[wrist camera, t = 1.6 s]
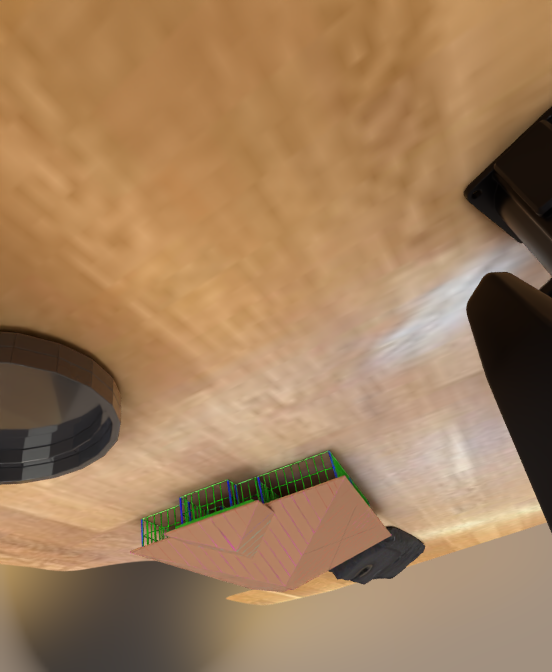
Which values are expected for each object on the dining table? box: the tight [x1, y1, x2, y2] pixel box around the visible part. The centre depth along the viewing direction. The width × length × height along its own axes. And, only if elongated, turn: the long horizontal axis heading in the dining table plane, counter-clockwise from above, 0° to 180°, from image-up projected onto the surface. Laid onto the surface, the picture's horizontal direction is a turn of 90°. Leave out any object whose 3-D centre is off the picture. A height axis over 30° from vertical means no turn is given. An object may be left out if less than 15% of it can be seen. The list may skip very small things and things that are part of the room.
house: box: [130, 451, 391, 592], centre depth 54 cm, size 23×33×8 cm
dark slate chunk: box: [328, 527, 425, 584], centre depth 77 cm, size 15×22×5 cm
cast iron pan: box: [0, 332, 121, 485], centre depth 28 cm, size 14×14×2 cm
